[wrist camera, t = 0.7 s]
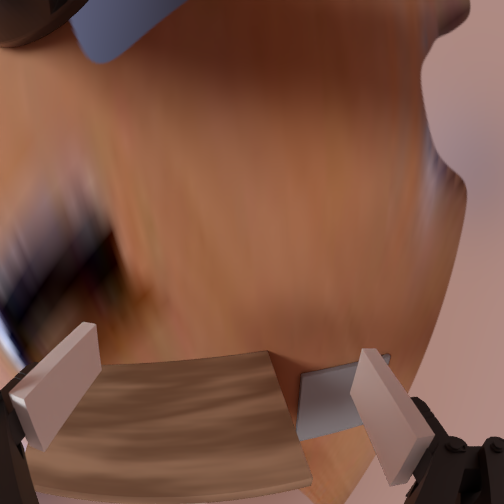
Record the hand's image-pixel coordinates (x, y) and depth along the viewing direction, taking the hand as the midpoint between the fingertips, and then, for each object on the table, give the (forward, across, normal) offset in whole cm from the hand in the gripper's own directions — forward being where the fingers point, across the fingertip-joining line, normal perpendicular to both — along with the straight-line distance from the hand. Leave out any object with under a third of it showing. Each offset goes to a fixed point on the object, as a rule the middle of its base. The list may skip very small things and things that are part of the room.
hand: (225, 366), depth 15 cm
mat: (+21, +15, -18) cm, 32 cm away
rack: (+17, -6, -22) cm, 29 cm away
